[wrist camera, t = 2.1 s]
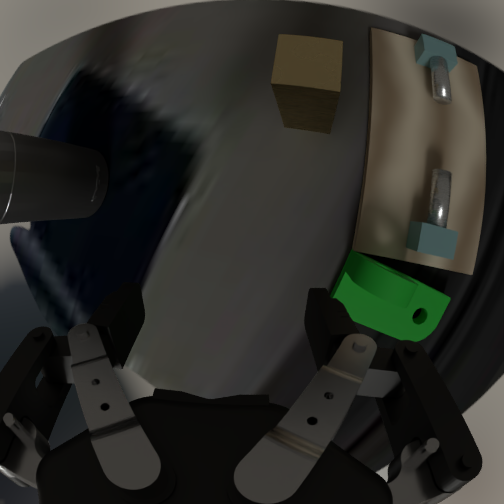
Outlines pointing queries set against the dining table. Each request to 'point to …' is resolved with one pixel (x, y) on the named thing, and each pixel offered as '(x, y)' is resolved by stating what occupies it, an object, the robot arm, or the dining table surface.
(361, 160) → the dining table surface
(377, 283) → the mechanical part
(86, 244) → the dining table surface
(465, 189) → the board
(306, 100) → the tan square-topped block
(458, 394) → the dining table surface
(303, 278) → the dining table surface
